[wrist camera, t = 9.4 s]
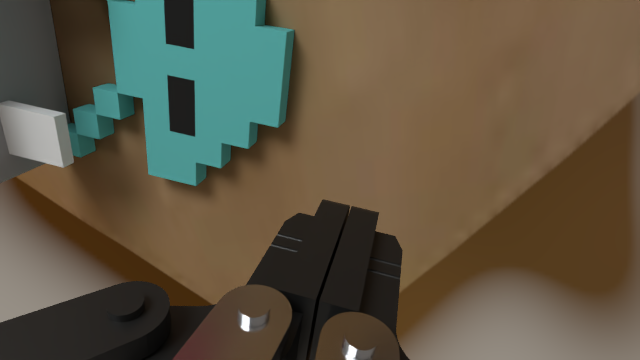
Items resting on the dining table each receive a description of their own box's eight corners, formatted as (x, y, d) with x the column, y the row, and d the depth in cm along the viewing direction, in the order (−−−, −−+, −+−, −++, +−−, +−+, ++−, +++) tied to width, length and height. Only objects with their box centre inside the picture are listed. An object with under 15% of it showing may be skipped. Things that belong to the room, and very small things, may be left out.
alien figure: (78, 143, 36) (279, 192, 33) (59, 152, 34) (270, 204, 31) (35, -119, 27) (307, -84, 24) (5, -128, 25) (298, -91, 22)
